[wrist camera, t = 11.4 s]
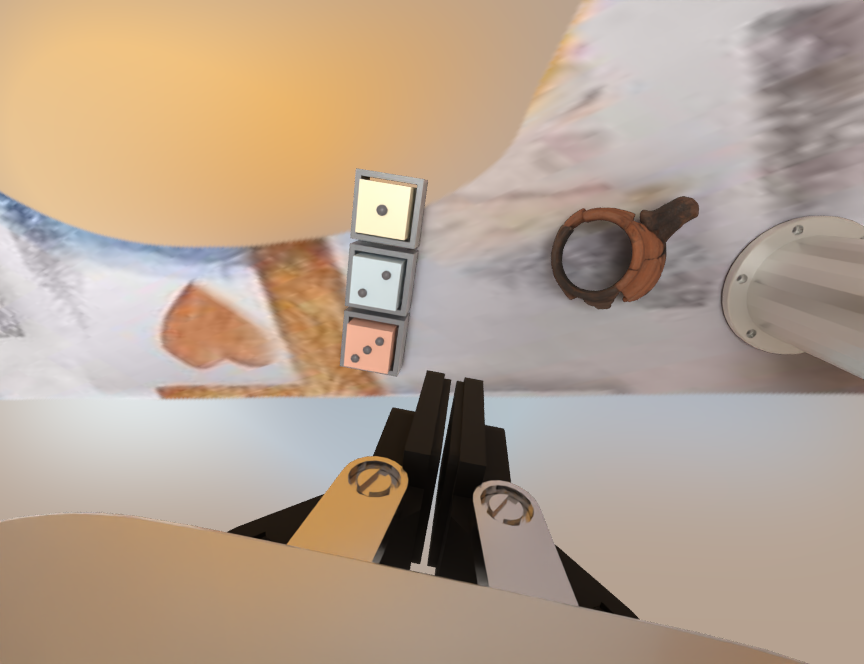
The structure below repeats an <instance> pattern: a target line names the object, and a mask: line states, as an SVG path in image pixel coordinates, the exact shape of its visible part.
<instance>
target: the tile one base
mask: <svg viewBox="0 0 864 664" xmlns="http://www.w3.org/2000/svg"><path fill="white" fill-rule="evenodd" d="M370 177H373V178H379V179H385V180H392V181H398V182H404V183H410V184H416V185H417V192H416V200H415V207H414V215H413V222H412V230H411V238H407V239H406V240H399V239H393V238H387V237H382V236H376V235H370V234H364V233H358V232H355V228H356V216H357V205H358V193H359V181H360V179H364V180H370ZM427 184H428V180H424V179H419V178H413V177H407V176H400V175H394V174H388V173H382V172H376V171H369V170H363V169H356V177H355V188H354V201H353V212H352V225H351V237H350V238H352V239H358V240H364V241H370V242H376V243H382V244H388V245H394V246H400V247H405V248H411V249H415V248H416V247H418V246H419V242H420V234H421V227H422V220H423V213H424V206H425V199H426V191H427Z"/></svg>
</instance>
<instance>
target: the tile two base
mask: <svg viewBox="0 0 864 664" xmlns="http://www.w3.org/2000/svg"><path fill="white" fill-rule="evenodd" d="M362 251H364V252H370V253H375V254H381V255H387V256H393V257H399V258H405V259H408V260H407V268H406V276H405V283H404V291H403V298H402V302H401V304H400V305H399V307H398V308H397V310H396V311H392V310H386V309H381V308H375V307H370V306H364V305H358V304H353V303H349V299H350V287H351V275H352V264H353V256H354V255H356V254H358V253H360V252H362ZM417 256H418V250H413V249H407V248H401V247H396V246H390V245H384V244H378V243H372V242H366V241H360V240H358V241H356V242H353V243H350V249H349V261H348V273H347V286H346V298H345V306H350V307H355V308H361V309H366V310H372V311H378V312H383V313H389V314H394V315H400V316H406V314H407V313H408V311H409V309H410V306H411V299H412V292H413V285H414V277H415V270H416V263H417Z"/></svg>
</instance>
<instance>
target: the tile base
mask: <svg viewBox="0 0 864 664" xmlns="http://www.w3.org/2000/svg"><path fill="white" fill-rule="evenodd" d="M354 317H356V318H362V319H367V320H373V321H378V322H384V323H389V324H395V325H399V329H398V336H397V344H396V352H395V359H394V362H393V364H392V366H391V368H390V370H389V372H388V374H386V375H391V376H396V377H397V376H398V374H399V371H400V369H401V367H402V363H403V356H404V349H405V342H406V335H407V328H408V320H409V313H407V314H406V316H400V315H394V314H389V313H383V312H378V311H372V310H366V309H361V308H355V307H350V306H349V307H348V308H347V309H346V310H344V322H343V334H342V347H341V359H340V366H343V367H347V366H344V357H345V345H346V333H347V324H348V323H349V322H350V321H351V320H352V319H353V318H354ZM348 368H352V367H348ZM353 369H357V368H353ZM359 370H363V369H359ZM364 371H368V370H364ZM370 372H374V371H370ZM375 373H379V372H375ZM380 374H384V373H380Z"/></svg>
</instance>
